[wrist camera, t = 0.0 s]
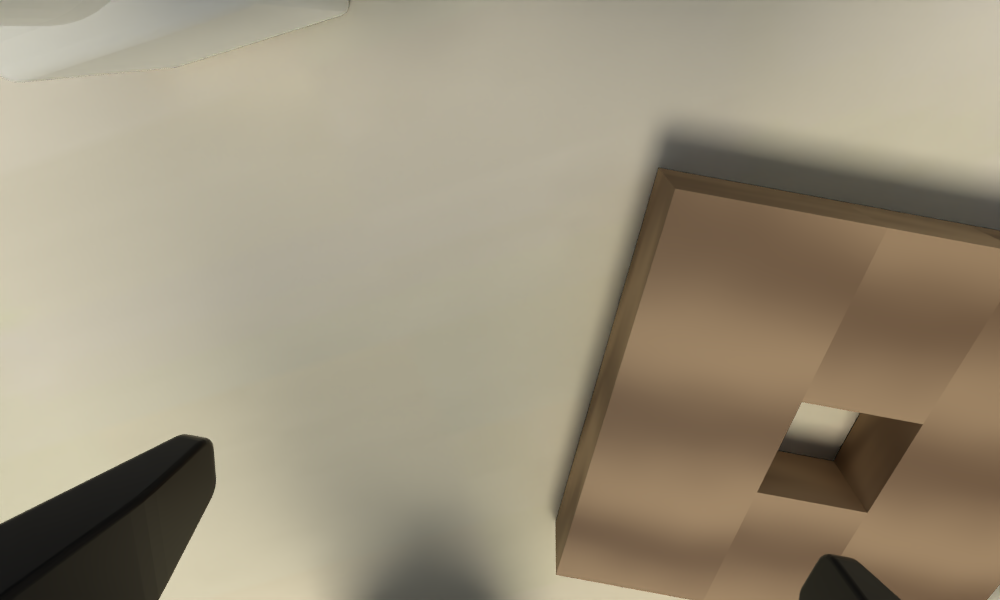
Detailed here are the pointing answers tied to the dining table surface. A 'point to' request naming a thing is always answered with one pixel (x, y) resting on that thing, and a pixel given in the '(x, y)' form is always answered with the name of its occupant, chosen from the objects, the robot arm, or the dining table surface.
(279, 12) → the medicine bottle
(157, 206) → the dining table surface
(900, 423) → the socket block
